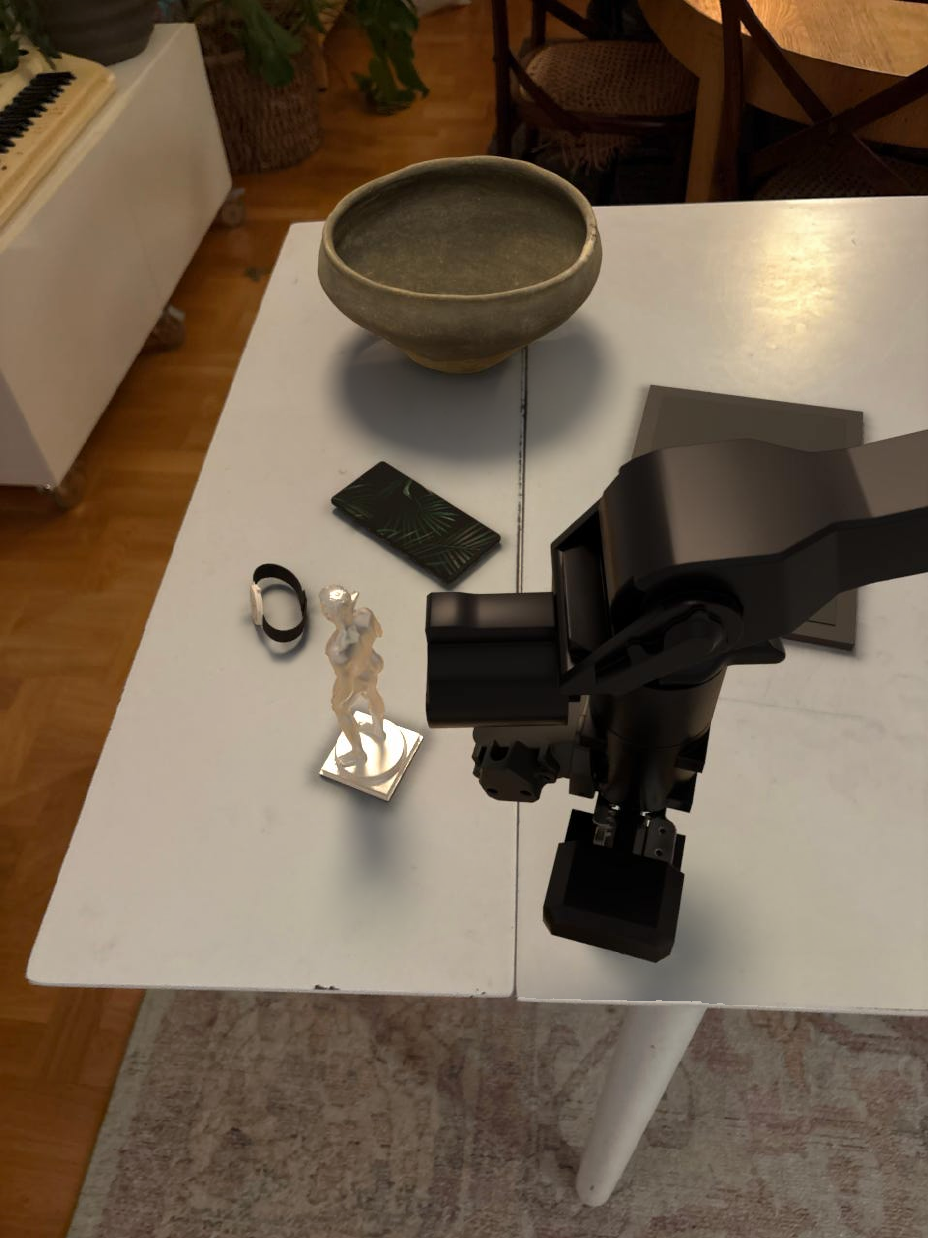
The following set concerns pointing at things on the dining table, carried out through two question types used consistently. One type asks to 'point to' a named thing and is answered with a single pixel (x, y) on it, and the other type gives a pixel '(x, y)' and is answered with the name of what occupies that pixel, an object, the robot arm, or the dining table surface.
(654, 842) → the robot arm
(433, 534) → the smartphone
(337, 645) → the figurine
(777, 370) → the dining table surface
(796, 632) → the tablet
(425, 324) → the bowl
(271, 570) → the watch
